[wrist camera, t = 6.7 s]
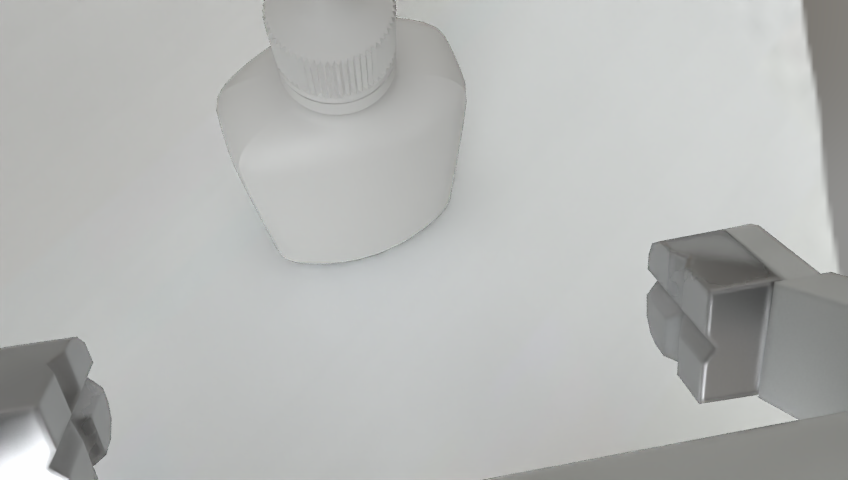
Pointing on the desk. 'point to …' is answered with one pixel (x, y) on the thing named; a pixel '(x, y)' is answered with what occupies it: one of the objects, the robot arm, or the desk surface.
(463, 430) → the desk surface
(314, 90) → the eye dropper bottle
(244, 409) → the desk surface
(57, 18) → the desk surface
